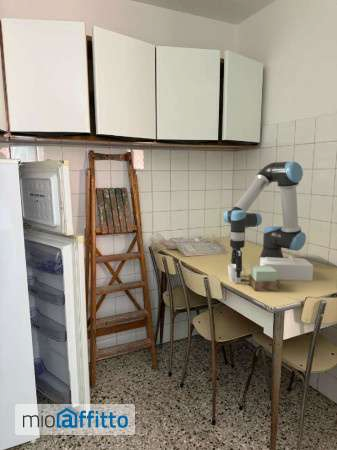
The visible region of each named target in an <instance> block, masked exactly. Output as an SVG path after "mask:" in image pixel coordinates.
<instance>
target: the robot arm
mask: <svg viewBox="0 0 337 450" xmlns="http://www.w3.org/2000/svg"><path fill="white" fill-rule="evenodd" d="M303 172H304V171H303V167H302V165H300V163H299V162H297V161H280V162H279V161H276V162H275V161H274V162H271V163H267V165H265V166H264V167H263V168H262V169H261V170H259V171H258V173H256V175H255V176H254V180H253V182H252V183H251V184H250V185H249V187H248V188H247V189H246V190H245V192H244V193H243V194H242V195H241V197H240V198H239V200H238V201H237V202H236V203H235V205H234V206H233V207H232V208H231V210H230V209H228V210H226V211H225V212H224V213H223V214H222V215H223V217H222V218H223V221H224V222H225V223H227V224H230V233H229V236H230V240H229V243H230V244H229V246H230V248H232V249H231V258H230V263H231V264H236V270H235V271H236V273H235V281H234V284H241V281H242V278H241V276H242V272H243V268H242V267H243V252H242V251H241V249H242V248H244V247H245V246H246V245H245V244H246V243H245V239H246V229H247V228H255V227H259V226H260V225H261V224H262V222H263V218H262V215H261V214H260V213H258V212H247V211H248V210H249V209H250V208H251V206H252V205H253V204H254V203H255V201H256V200H257V198H258V197H259V196H260V195H261V194H262V192H263V190H264V189H265V188H266V187H269V185H270V184H272V183H275V182H276V183H277V187H278V188H279V189H280V199H281V212H282V226H281V225H279V226H278V225H274V226H266V227H264V229H263V238H262V241H263V243H262V250H261V253H260V256H259V258H260V257H264V258H266V257H274V258H284V255H283V250H282V249H286V250H291V251H300V250H302V249H303V247H304V245H305V244H306V241H307V235H306V234H305V232H303V231H302V227H301V226H300V225H299V214H298V213H299V212H298V199H297V198H298V197H297V196H298V195H297V188H298V187H297V186H299V185H300V183H299V182H301V181H302V179H303V175H304V173H303Z"/></svg>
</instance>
